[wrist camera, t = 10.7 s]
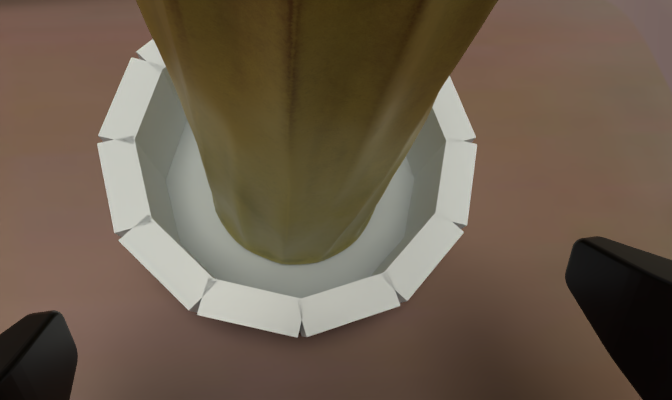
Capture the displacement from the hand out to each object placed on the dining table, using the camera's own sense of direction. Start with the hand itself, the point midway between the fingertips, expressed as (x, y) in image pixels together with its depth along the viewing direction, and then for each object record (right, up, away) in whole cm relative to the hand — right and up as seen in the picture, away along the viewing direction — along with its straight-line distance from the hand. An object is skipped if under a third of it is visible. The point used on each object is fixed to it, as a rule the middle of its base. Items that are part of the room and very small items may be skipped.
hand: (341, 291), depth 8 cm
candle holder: (-2, +2, +9) cm, 10 cm away
